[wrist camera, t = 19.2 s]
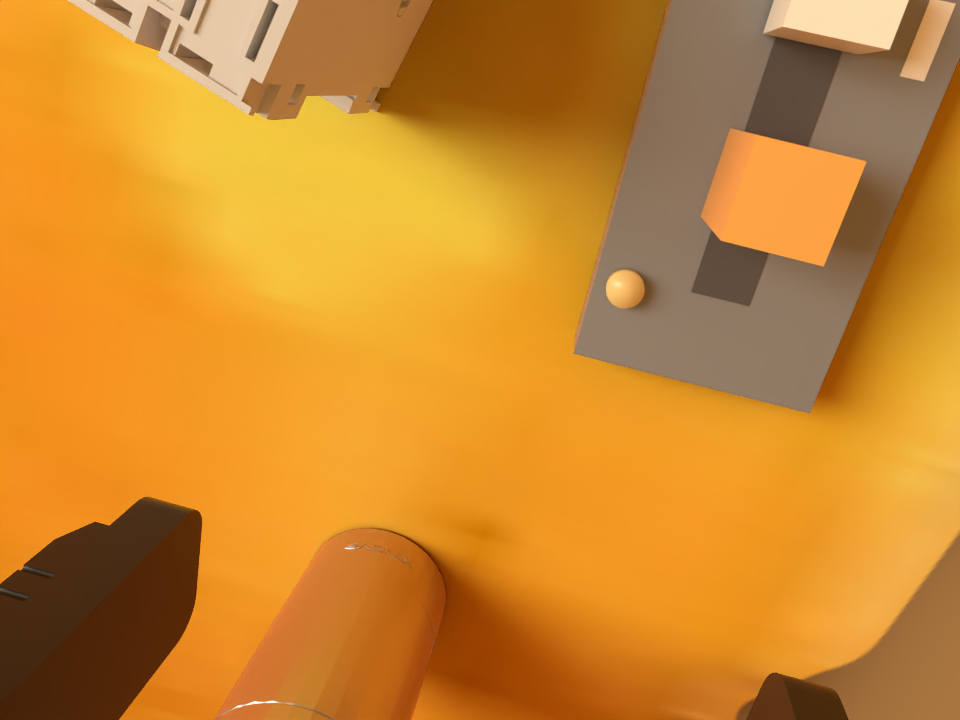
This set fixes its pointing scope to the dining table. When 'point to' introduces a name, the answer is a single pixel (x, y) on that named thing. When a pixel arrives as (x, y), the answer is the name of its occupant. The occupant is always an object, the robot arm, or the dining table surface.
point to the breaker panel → (689, 173)
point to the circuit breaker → (275, 46)
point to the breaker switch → (837, 23)
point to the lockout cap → (780, 196)
